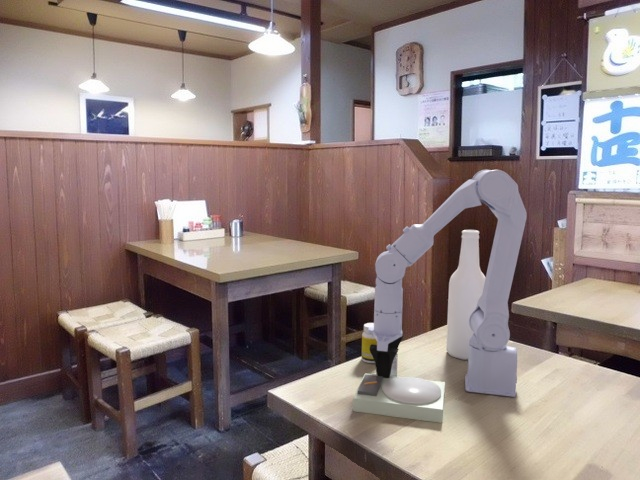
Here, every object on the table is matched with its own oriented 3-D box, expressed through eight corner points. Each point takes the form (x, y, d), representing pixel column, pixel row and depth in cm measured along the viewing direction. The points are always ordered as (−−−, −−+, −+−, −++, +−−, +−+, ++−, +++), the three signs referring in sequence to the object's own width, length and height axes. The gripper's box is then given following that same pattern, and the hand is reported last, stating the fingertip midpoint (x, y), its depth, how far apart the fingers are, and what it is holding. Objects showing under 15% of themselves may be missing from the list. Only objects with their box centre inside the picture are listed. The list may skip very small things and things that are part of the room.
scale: (444, 394, 101) (445, 378, 101) (442, 422, 90) (442, 405, 89) (364, 384, 106) (365, 369, 105) (352, 411, 94) (353, 394, 94)
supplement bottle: (380, 364, 116) (381, 329, 115) (360, 363, 117) (360, 327, 116) (382, 357, 121) (383, 322, 120) (362, 355, 122) (363, 321, 121)
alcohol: (483, 349, 126) (489, 229, 122) (484, 362, 118) (491, 233, 114) (446, 346, 129) (451, 227, 124) (445, 358, 120) (450, 232, 116)
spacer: (398, 378, 109) (398, 351, 108) (395, 386, 105) (396, 358, 104) (377, 376, 110) (378, 349, 109) (374, 384, 106) (374, 356, 105)
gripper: (374, 299, 113) (372, 358, 115) (362, 317, 99) (360, 384, 101) (406, 302, 111) (404, 362, 113) (398, 321, 97) (396, 388, 99)
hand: (386, 372), depth 107 cm, fingers open, 7 cm apart
